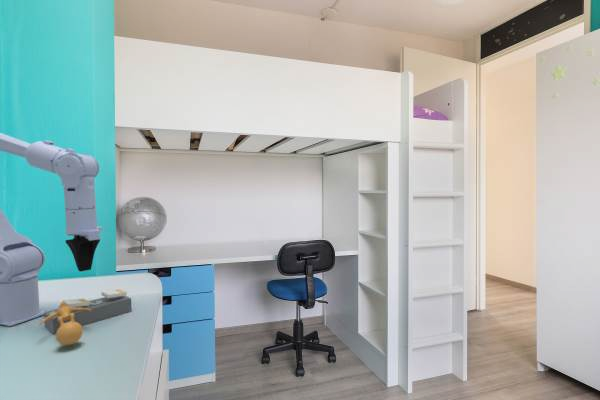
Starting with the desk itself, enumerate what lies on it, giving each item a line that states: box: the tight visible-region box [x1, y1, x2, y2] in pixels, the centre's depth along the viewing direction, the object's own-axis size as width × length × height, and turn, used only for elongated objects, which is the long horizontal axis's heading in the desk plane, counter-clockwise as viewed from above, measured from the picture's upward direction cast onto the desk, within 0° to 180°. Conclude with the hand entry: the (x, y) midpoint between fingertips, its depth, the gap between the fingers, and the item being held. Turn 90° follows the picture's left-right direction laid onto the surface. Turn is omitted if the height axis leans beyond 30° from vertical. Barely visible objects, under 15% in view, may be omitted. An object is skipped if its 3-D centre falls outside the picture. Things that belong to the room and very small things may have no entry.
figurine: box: [38, 301, 91, 346], centre depth 64 cm, size 8×6×12 cm
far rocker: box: [101, 289, 128, 299], centre depth 78 cm, size 4×4×1 cm
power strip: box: [43, 295, 133, 335], centre depth 74 cm, size 15×6×3 cm, turn 140°
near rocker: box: [62, 298, 90, 308], centre depth 72 cm, size 4×4×1 cm
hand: (84, 270), depth 75 cm, fingers closed
